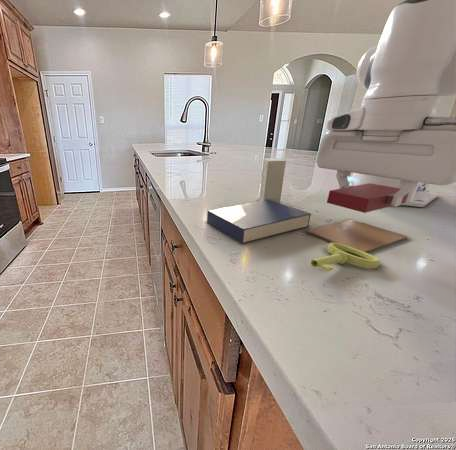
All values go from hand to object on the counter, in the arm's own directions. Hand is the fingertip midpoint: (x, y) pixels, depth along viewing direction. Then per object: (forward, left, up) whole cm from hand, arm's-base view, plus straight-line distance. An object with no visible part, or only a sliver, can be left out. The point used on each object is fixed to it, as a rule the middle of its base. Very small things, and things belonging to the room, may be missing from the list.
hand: (366, 199), depth 45 cm
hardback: (+13, -13, -8) cm, 20 cm away
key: (+13, +5, -8) cm, 16 cm away
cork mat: (0, 0, -8) cm, 8 cm away
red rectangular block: (0, 0, -1) cm, 1 cm away
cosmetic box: (-1, -23, -8) cm, 24 cm away
